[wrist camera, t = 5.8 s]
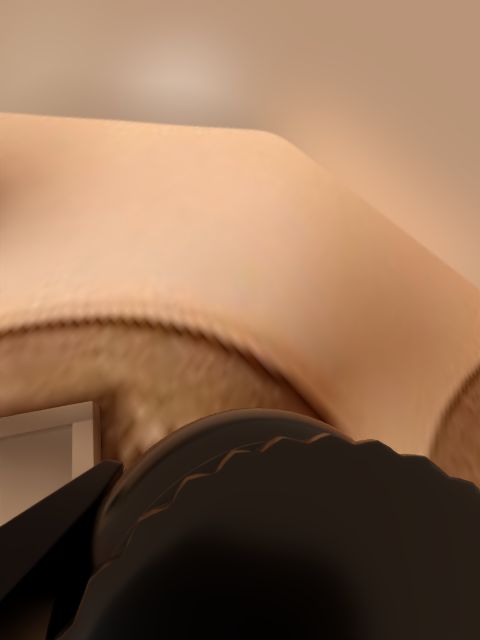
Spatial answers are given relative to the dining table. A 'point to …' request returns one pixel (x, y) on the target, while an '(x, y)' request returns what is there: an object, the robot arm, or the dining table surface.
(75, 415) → the tray
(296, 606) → the supplement bottle
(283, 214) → the dining table surface
